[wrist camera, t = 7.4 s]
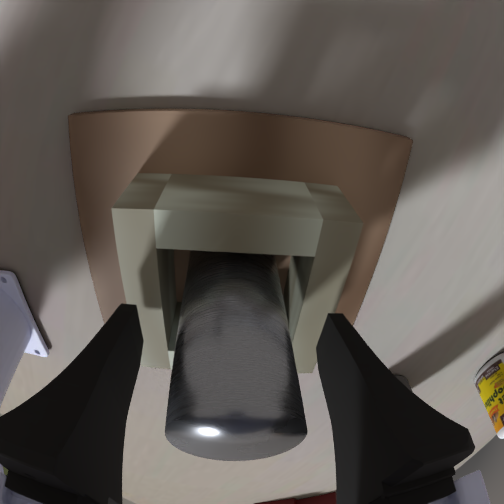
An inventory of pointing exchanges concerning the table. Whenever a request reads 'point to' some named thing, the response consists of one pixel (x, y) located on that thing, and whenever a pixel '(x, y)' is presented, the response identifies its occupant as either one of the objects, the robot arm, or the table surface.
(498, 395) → the supplement bottle
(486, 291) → the table surface
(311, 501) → the toy houses
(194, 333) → the peg
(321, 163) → the socket
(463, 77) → the table surface
